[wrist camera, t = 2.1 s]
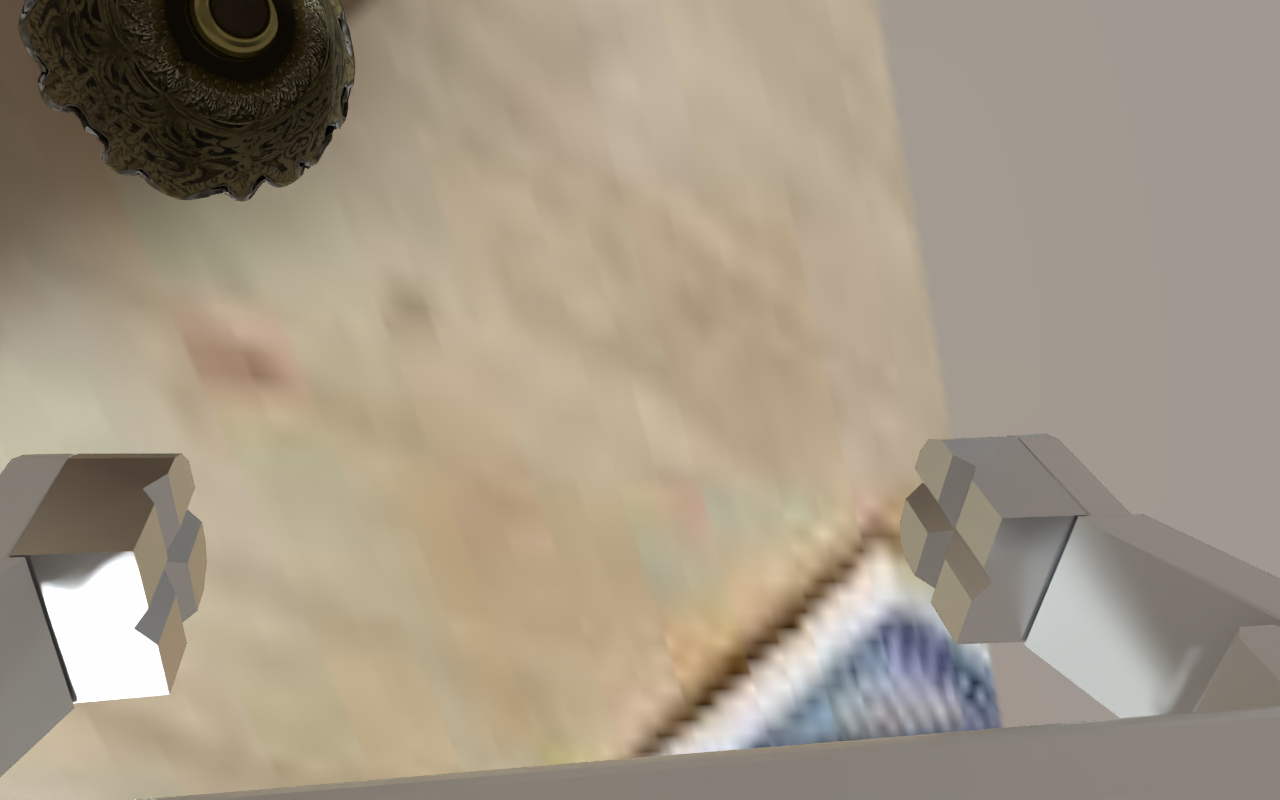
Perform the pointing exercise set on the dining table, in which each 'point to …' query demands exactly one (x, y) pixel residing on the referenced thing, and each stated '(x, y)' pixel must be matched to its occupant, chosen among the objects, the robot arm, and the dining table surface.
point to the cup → (196, 87)
